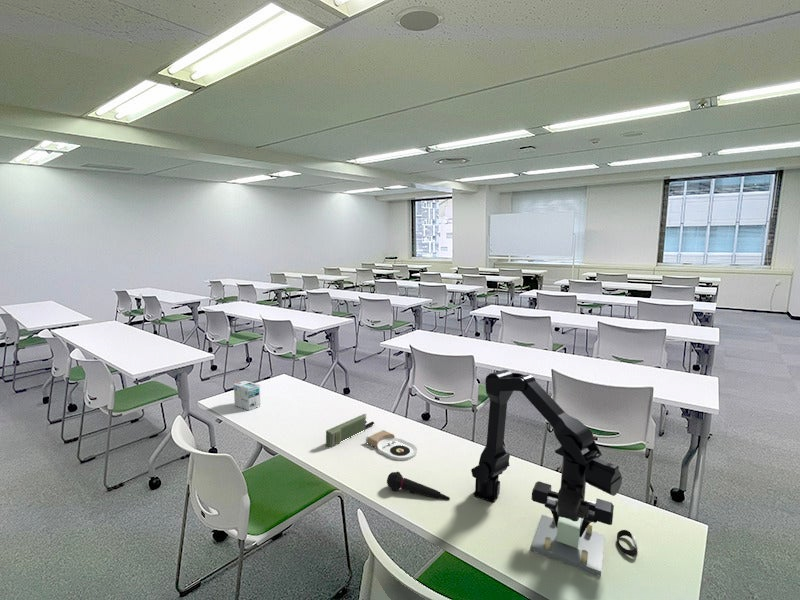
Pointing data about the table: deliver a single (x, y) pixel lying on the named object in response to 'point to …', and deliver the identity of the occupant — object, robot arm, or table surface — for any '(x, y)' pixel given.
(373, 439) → the record player
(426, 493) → the microphone
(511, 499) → the table surface
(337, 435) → the handheld radio
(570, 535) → the board block
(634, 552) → the watch
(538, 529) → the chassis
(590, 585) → the table surface
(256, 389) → the light bulb box
